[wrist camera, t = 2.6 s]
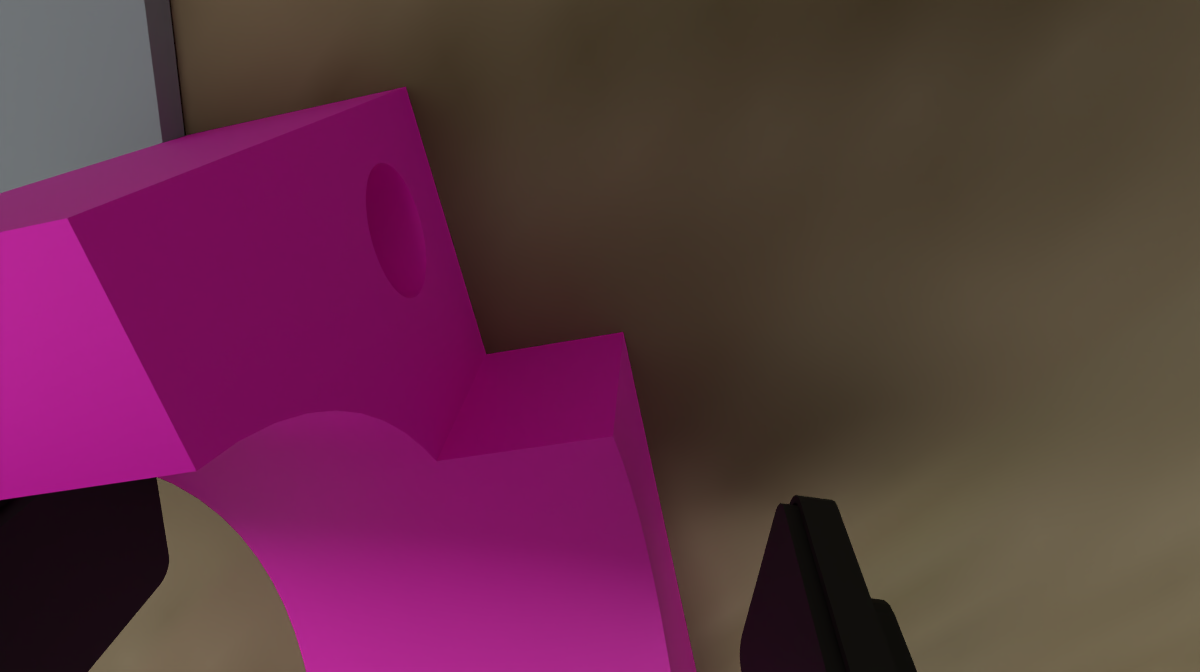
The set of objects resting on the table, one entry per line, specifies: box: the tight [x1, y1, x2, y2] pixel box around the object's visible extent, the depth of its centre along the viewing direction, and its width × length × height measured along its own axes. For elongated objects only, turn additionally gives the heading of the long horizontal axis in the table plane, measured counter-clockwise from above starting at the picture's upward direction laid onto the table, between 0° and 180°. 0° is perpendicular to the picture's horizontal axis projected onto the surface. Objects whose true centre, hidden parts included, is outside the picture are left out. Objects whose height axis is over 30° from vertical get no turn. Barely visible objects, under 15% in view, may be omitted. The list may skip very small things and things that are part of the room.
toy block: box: [0, 87, 696, 672], centre depth 11 cm, size 15×6×8 cm, turn 12°
